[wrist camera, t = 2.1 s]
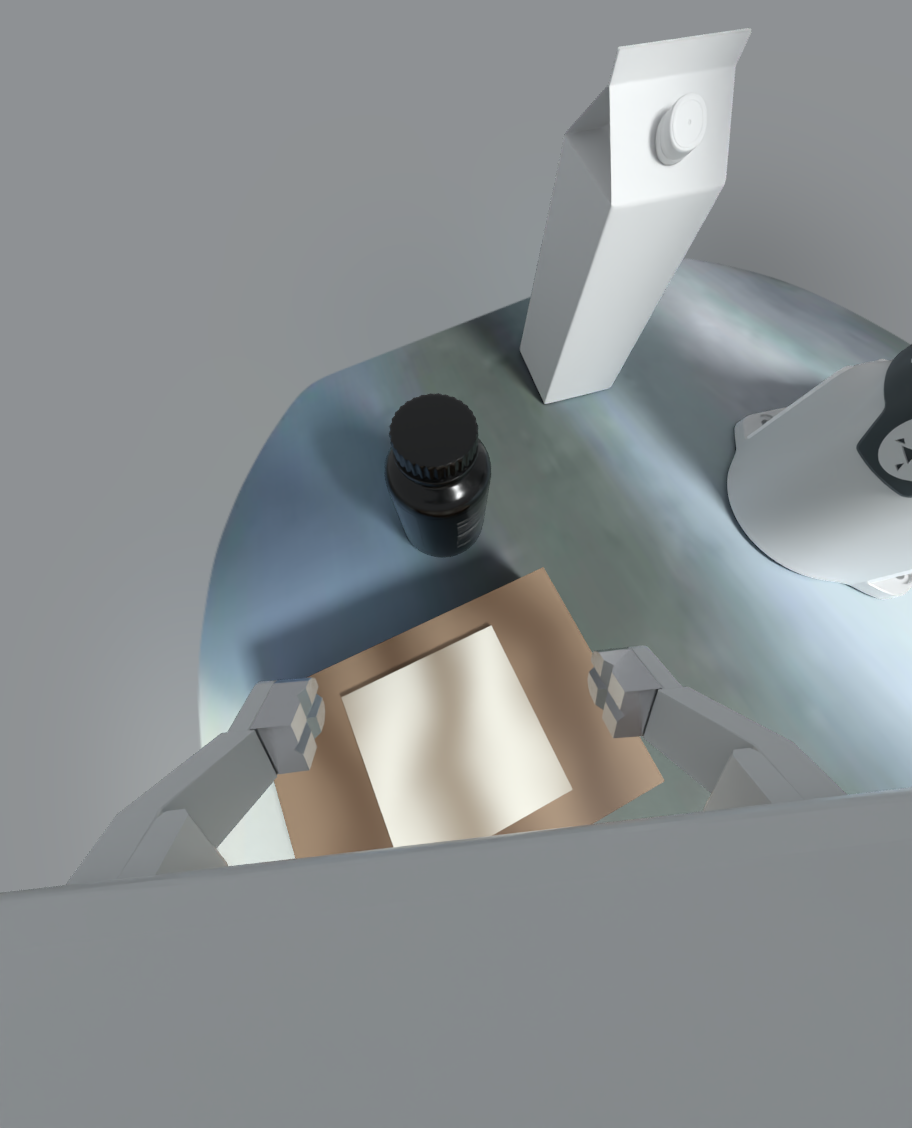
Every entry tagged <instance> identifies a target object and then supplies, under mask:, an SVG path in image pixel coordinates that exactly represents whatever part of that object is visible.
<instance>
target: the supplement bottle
mask: <svg viewBox="0 0 912 1128" xmlns="http://www.w3.org/2000/svg"><path fill="white" fill-rule="evenodd" d="M389 436H390V440H391V446H392V447H391V448H390V450H389V452H388V455H387V458H386V462H385V480H386V484H387V487H388V490H389V493H390V496H391V498H392V501H393V503H394V506H395V508H396V511H397V513H398V516H399V519H400V521H401V524H402V526H403V529H404V531H405V533H406V535H407V537H408V539H409V540H410V542H411V543H412V544H413V545H414V546H415V547H416V548H417V549H418V550H420V551H421V552H423V553H425V554H427V555H430V556H434V557H451V556H455V555H458V554H460V553H462V552H464V551H466V550H467V549H469V548H470V547H471V546H472V545H473V544H474V543H475V542H476V540H477V539H478V537H479V535H480V533H481V530H482V526H483V522H484V516H485V510H486V503H487V497H488V491H489V485H490V478H491V462H490V458H489V455H488V452H487V450H486V448H485V446H484V445H483V443H482V442H481V441H480V439H479V438H478V425H477V423H476V418H475V416H474V415H473V412H472V411H471V410H470V409H469V408H468V406H467V405H465V404H463V402H462V401H460V400H457V399H456V398H455V397H449V396H448V395H441V394H439V393H438V394H428V395H421V396H419V397H416V398H413V399H412V400H410V401H407V402H406V403H405V405H403V406H401V407H400V409H399V410H398V411H397V412H395V416H394V417H393V418H392V423H391V425H390V433H389Z"/></svg>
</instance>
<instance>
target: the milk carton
mask: <svg viewBox="0 0 912 1128" xmlns="http://www.w3.org/2000/svg"><path fill="white" fill-rule="evenodd" d="M750 34H751V29H750V28H746V29H740V30H732V31H726V32H719V33H712V34H705V35H698V36H691V37H684V38H677V39H670V40H663V41H657V42H650V43H643V44H636V45H629V46H622V47H618V50H617V53H616V57H615V61H614V65H613V69H612V72H611V76H610V80H609V84H608V85H607V87H606V88H605V89H604V90H603V91H602V92H601V93H600V94H599V96H598V97H597V98H596V99H595V100H594V101H593V102H592V103H591V105H590V106H589V107H588V108H587V109H586V110H585V112H583V114H582V115H581V116H580V117H579V118H578V119H577V120H576V121H575V123H574V124H573V125H572V126H571V127H570V128H569V129H568V130H567V132H566V133H565V134H564V140H563V145H562V150H561V154H560V159H559V164H558V169H557V173H556V178H555V183H554V188H553V193H552V197H551V202H550V207H549V212H548V216H547V221H546V226H545V231H544V236H543V240H542V246H541V250H540V255H539V260H538V264H537V269H536V274H535V279H534V284H533V289H532V294H531V298H530V303H529V307H528V312H527V317H526V322H525V327H524V331H523V336H522V341H521V346H520V352H521V354H522V356H523V358H524V360H525V363H526V365H527V367H528V369H529V371H530V374H531V376H532V378H533V380H534V382H535V384H536V387H537V389H538V391H539V393H540V395H541V398H542V400H543V402H544V404H548V403H552V402H556V401H560V400H564V399H568V398H573V397H577V396H581V395H585V394H589V393H593V392H597V391H601V390H605V389H609V388H610V387H611V386H612V385H613V383H614V381H615V379H616V377H617V376H618V374H619V372H620V370H621V368H622V367H623V365H624V363H625V361H626V360H627V358H628V356H629V354H630V352H631V351H632V349H633V347H634V345H635V343H636V342H637V340H638V338H639V336H640V335H641V333H642V331H643V329H644V327H645V326H646V324H647V322H648V320H649V318H650V317H651V315H652V313H653V311H654V310H655V308H656V306H657V304H658V302H659V301H660V299H661V297H662V295H663V293H664V292H665V290H666V288H667V286H668V285H669V283H670V281H671V279H672V277H673V276H674V274H675V272H676V270H677V268H678V267H679V265H680V263H681V261H682V260H683V258H684V256H685V254H686V252H687V250H688V249H689V247H690V245H691V243H692V242H693V240H694V238H695V236H696V235H697V233H698V231H699V229H700V227H701V226H702V224H703V222H704V220H705V218H706V217H707V215H708V213H709V211H710V210H711V208H712V206H713V204H714V202H715V201H716V199H717V197H718V195H719V193H720V191H721V190H722V188H723V186H724V184H725V182H726V173H727V161H728V149H729V137H730V126H731V113H732V102H733V90H734V78H735V66H736V64H737V62H738V59H739V57H740V55H741V53H742V51H743V49H744V47H745V45H746V42H747V40H748V38H749V36H750Z"/></svg>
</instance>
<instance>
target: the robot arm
mask: <svg viewBox="0 0 912 1128" xmlns="http://www.w3.org/2000/svg"><path fill="white" fill-rule="evenodd" d="M735 442H736V452H735V456H734V458H733V460H732V463H731V465H730V468H729V472H728V478H727V491H728V497H729V501H730V505H731V508H732V510H733V513H734V515H735V517H736V519H737V521H738V522H739V524H740V526H741V527H742V529H743V530H744V532H745V533H746V534H747V535H748V537H749V538H750V539H751V540H752V541H753V542H754V543H755V545H757V546H758V547H759V548H760V549H761V550H762V551H763V552H764V553H765V554H767V555H768V556H769V557H770V558H772V559H773V560H775V561H776V562H778V563H779V564H781V565H783V566H784V567H786V568H788V569H790V570H792V571H794V572H797V573H799V574H802V575H804V576H808V577H811V578H815V579H819V580H825V581H832V582H839V583H844V584H847V585H850V586H852V587H854V588H856V589H858V590H860V591H862V592H864V593H866V594H868V595H870V596H872V597H875V598H878V599H882V600H887V599H892V598H895V597H899V596H902V595H904V594H906V593H907V592H908V591H909V590H910V589H911V588H912V344H911V345H910V346H908V347H907V348H906V349H904V350H903V351H901V352H900V353H899V354H898V355H897V356H896V357H895V358H894V359H892V360H888V361H887V360H884V359H880V360H877V361H874V362H866V363H863V364H860V365H859V364H857V365H854V366H846V367H844V368H842V369H840V370H839V371H837V372H835V373H834V374H833V375H831V376H830V377H828V378H827V379H826V380H824V381H823V382H821V383H820V384H819V385H817V386H816V387H814V388H813V389H812V390H810V391H809V392H808V393H806V394H805V395H803V396H802V397H801V398H799V399H798V400H797V401H795V402H794V403H792V404H791V405H790V406H788V407H784V408H779V409H774V410H770V411H765V412H760V413H756V414H751V415H748V416H746V417H745V418H743V419H742V420H741V421H739V422H738V423H737V424H736V426H735ZM591 662H592V664H593V666H594V667H593V668H592V669H591V670H590V671H589V674H588V687H589V692H590V695H591V697H592V699H593V701H594V703H595V705H597V706H598V707H599V708H601V709H602V710H603V715H602V719H603V720H604V722H605V724H606V726H607V728H608V730H609V732H610V733H611V735H612V737H613V738H625V737H638V736H644V737H643V738H644V739H645V740H647V741H648V742H649V743H650V744H652V745H653V746H654V747H655V748H656V749H658V750H659V751H660V752H661V753H663V754H664V755H665V756H666V757H667V758H669V759H670V760H671V761H672V762H674V763H675V764H676V765H677V766H678V767H680V768H681V769H682V770H683V771H685V772H686V773H687V774H688V775H689V776H691V777H692V778H693V779H694V780H695V781H697V782H698V783H699V784H700V785H702V786H703V787H704V788H705V789H706V790H708V791H709V792H710V793H711V795H710V797H709V799H708V801H707V803H706V805H705V807H704V810H703V811H702V812H694V813H685V814H677V815H668V816H659V817H651V818H642V819H633V820H625V821H616V822H607V823H599V824H590V825H581V826H573V827H564V828H555V829H547V830H538V831H529V832H520V833H512V834H503V835H494V836H486V837H477V838H469V839H460V840H452V841H443V842H434V843H426V844H417V845H409V846H400V847H392V848H383V849H374V850H366V851H357V852H348V853H340V854H331V855H323V856H314V857H305V858H297V859H288V860H279V861H271V862H262V863H254V864H245V865H236V866H228V864H227V862H226V861H225V860H224V858H223V857H222V856H221V854H220V853H219V852H218V851H217V849H216V848H217V847H218V846H219V845H220V844H221V842H222V841H223V840H224V839H225V838H226V837H227V835H228V834H229V833H230V832H231V831H232V829H233V828H234V827H235V826H236V825H237V824H238V822H239V821H240V820H241V819H242V818H243V817H244V815H245V814H246V813H247V812H248V811H249V809H250V808H251V807H252V806H253V805H254V804H255V802H256V801H257V800H258V799H259V798H260V797H261V795H262V794H263V793H264V792H265V791H266V789H267V788H268V787H269V786H270V785H271V784H272V782H273V781H274V780H275V779H276V778H277V775H278V774H286V773H293V772H301V771H308V770H310V768H311V765H312V761H313V758H314V755H315V752H316V749H317V745H316V743H315V740H314V739H315V738H316V737H317V736H318V735H319V734H320V733H321V732H322V729H323V725H324V720H325V706H324V701H323V698H322V697H320V696H319V695H318V694H316V693H317V690H318V687H319V686H318V684H317V681H316V679H315V678H297V679H283V680H274V681H260V682H258V683H257V684H256V685H255V686H254V687H253V689H252V691H251V692H250V694H249V696H248V698H247V699H246V701H245V703H244V704H243V706H242V708H241V710H240V711H239V713H238V715H237V716H236V718H235V720H234V722H233V723H232V725H231V727H230V729H229V730H228V732H226V733H221V734H220V735H218V736H217V737H216V738H214V739H213V740H212V741H211V742H209V743H208V744H207V745H205V746H204V747H203V748H202V749H200V750H199V751H198V752H197V753H195V754H194V755H193V756H191V757H190V758H189V759H187V760H186V761H185V762H184V763H182V764H181V765H180V766H178V767H177V768H176V769H175V770H173V771H172V772H171V773H169V774H168V775H167V776H166V777H164V778H163V779H162V780H160V781H159V782H158V783H157V784H155V785H154V786H153V787H151V788H150V789H149V790H148V791H146V792H145V793H144V794H142V795H141V796H140V797H138V798H137V799H136V800H135V801H133V802H132V803H131V804H130V805H128V806H127V807H126V808H125V809H123V810H122V811H120V812H119V813H118V814H117V815H116V816H115V818H114V819H113V821H112V822H111V823H110V825H109V826H108V827H107V829H106V830H105V831H104V833H103V834H102V836H101V837H100V838H99V840H98V841H97V842H96V844H95V845H94V846H93V848H92V849H91V851H90V852H89V853H88V855H87V856H86V857H85V859H84V860H83V862H82V863H81V864H80V866H79V867H78V868H77V870H76V871H75V873H74V874H73V875H72V877H71V878H70V879H69V881H68V882H67V884H66V885H63V886H54V887H45V888H37V889H28V890H19V891H10V892H2V893H0V1128H912V787H909V788H901V789H892V790H883V791H875V792H866V793H857V794H849V795H847V794H846V793H845V792H844V791H843V790H842V789H841V788H840V787H839V786H838V785H837V784H836V783H835V782H834V781H833V780H832V779H831V778H830V777H829V776H828V775H827V774H826V773H825V772H824V771H823V770H822V769H820V768H819V767H818V766H817V765H816V764H815V763H814V762H813V761H812V760H811V759H810V758H809V757H808V756H807V755H806V754H805V753H804V752H803V751H802V750H801V749H800V748H799V747H798V746H797V745H796V744H795V743H794V742H792V741H790V740H789V739H787V738H785V737H783V736H781V735H779V734H777V733H775V732H773V731H771V730H769V729H768V728H766V727H764V726H762V725H760V724H758V723H756V722H754V721H752V720H750V719H749V718H747V717H745V716H743V715H741V714H739V713H737V712H735V711H733V710H731V709H730V708H728V707H726V706H724V705H722V704H720V703H718V702H716V701H714V700H712V699H710V698H709V697H707V696H705V695H703V694H701V693H699V692H697V691H695V690H693V689H691V688H690V687H682V686H681V685H680V683H679V682H678V681H677V680H676V679H675V678H674V676H673V675H672V674H671V673H670V672H669V671H668V669H667V668H666V667H665V666H664V665H663V664H662V662H661V661H660V660H659V659H658V658H657V657H656V655H655V654H654V653H653V652H652V651H651V650H650V649H649V648H648V647H647V646H645V645H644V646H634V647H627V648H616V649H606V650H597V651H594V652H593V653H592V657H591Z"/></svg>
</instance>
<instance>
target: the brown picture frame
mask: <svg viewBox="0 0 912 1128" xmlns="http://www.w3.org/2000/svg"><path fill="white" fill-rule="evenodd" d="M591 657H592V652H591V650H590V648H589V647H588V645H587V643H586V641H585V640H584V638H583V636H582V634H581V633H580V631H579V629H578V627H577V626H576V624H575V622H574V620H573V619H572V617H571V615H570V613H569V611H568V610H567V608H566V606H565V604H564V603H563V601H562V599H561V597H560V596H559V594H558V592H557V590H556V589H555V587H554V585H553V583H552V582H551V580H550V578H549V576H548V574H547V573H546V571H545V569H544V567H543V568H541V569H538V570H536V571H534V572H532V573H530V574H528V575H526V576H523V577H521V578H519V579H517V580H515V581H513V582H511V583H508V584H506V585H504V586H502V587H500V588H498V589H496V590H493V591H491V592H489V593H487V594H485V595H483V596H481V597H478V598H476V599H474V600H472V601H470V602H468V603H465V604H463V605H461V606H459V607H457V608H455V609H453V610H450V611H448V612H446V613H444V614H442V615H440V616H438V617H435V618H433V619H431V620H429V621H427V622H425V623H423V624H420V625H418V626H416V627H414V628H412V629H410V630H408V631H405V632H403V633H401V634H399V635H397V636H395V637H392V638H390V639H388V640H386V641H384V642H382V643H380V644H377V645H375V646H373V647H371V648H369V649H367V650H365V651H362V652H360V653H358V654H356V655H354V656H352V657H350V658H347V659H345V660H343V661H341V662H339V663H337V664H335V665H332V666H330V667H328V668H326V669H324V670H322V671H320V672H317V673H315V674H313V675H311V676H309V677H307V678H315V679H316V681H317V684H318V686H319V687H318V690H317V693H316V694H318V695H319V696H320V697H322V698H323V701H324V706H325V720H324V725H323V729H322V732H321V733H320V734H319V735H318V736H317V737H316V738H315V739H314V740H315V743H316V745H317V749H316V752H315V755H314V758H313V761H312V765H311V768H310V770H308V771H301V772H293V773H286V774H278V775H277V778H276V779H275V780H274V783H275V786H276V790H277V793H278V797H279V801H280V804H281V808H282V812H283V815H284V819H285V822H286V826H287V830H288V833H289V837H290V840H291V844H292V848H293V851H294V855H295V858H296V859H297V858H305V857H314V856H323V855H331V854H340V853H348V852H357V851H366V850H374V849H383V848H392V847H400V846H409V845H417V844H426V843H434V842H443V841H452V840H460V839H469V838H477V837H486V836H494V835H503V834H512V833H520V832H529V831H538V830H547V829H555V828H564V827H573V826H581V825H590V824H593V823H595V822H596V821H598V820H600V819H602V818H603V817H605V816H607V815H608V814H610V813H612V812H613V811H615V810H617V809H618V808H620V807H622V806H623V805H625V804H627V803H629V802H630V801H632V800H634V799H635V798H637V797H639V796H640V795H642V794H644V793H645V792H647V791H649V790H650V789H652V788H654V787H656V786H657V785H659V784H661V783H662V782H664V779H663V777H662V775H661V774H660V772H659V770H658V768H657V767H656V765H655V763H654V761H653V760H652V758H651V756H650V754H649V752H648V751H647V749H646V747H645V745H644V744H643V742H642V740H641V738H640V737H639V736H638V737H625V738H613V737H612V735H611V733H610V732H609V730H608V728H607V726H606V724H605V722H604V720H603V719H602V715H603V710H602V709H601V708H599V707H598V706H597V705H595V703H594V701H593V699H592V697H591V695H590V692H589V687H588V674H589V671H590V670H591V669H592V668H593V667H594V666H593V664H592V662H591Z"/></svg>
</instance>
